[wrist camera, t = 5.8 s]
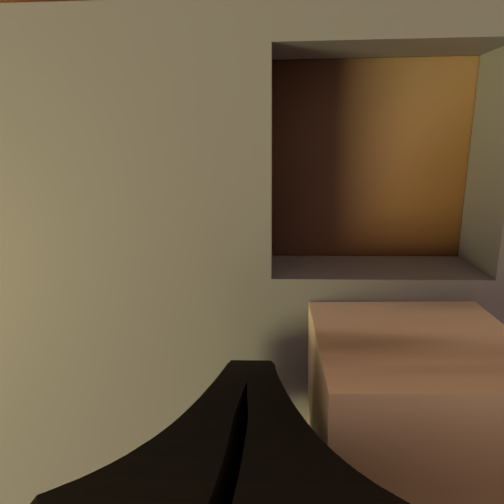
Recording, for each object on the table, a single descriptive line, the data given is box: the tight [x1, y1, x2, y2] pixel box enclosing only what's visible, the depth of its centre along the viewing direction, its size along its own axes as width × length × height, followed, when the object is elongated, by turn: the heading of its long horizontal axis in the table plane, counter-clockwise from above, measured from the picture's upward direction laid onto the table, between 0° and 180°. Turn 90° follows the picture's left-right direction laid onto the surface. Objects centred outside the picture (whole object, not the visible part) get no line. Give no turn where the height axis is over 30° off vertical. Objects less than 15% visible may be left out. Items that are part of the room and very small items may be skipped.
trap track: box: [0, 0, 504, 504], centre depth 13 cm, size 20×25×4 cm
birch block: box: [307, 301, 504, 504], centre depth 10 cm, size 4×4×4 cm
